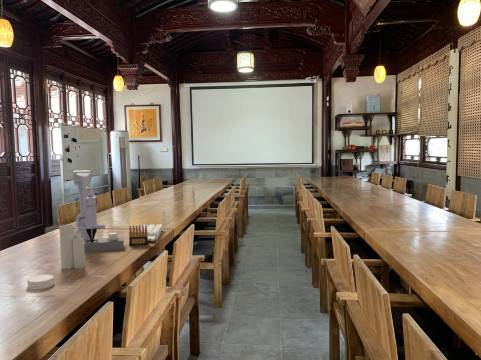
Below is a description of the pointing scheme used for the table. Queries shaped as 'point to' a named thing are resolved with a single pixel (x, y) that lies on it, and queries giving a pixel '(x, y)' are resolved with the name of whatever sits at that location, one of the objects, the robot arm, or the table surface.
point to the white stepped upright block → (71, 248)
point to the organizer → (152, 231)
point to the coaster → (40, 282)
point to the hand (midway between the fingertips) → (92, 242)
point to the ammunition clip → (139, 239)
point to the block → (103, 245)
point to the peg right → (112, 236)
